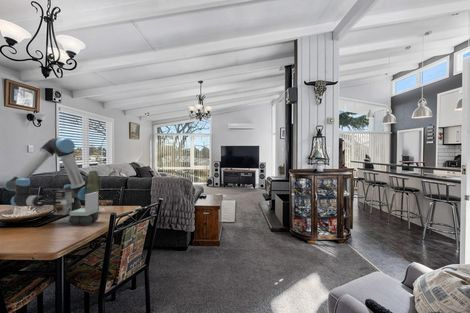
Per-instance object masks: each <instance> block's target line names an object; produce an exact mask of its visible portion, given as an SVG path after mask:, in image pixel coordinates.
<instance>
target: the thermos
mask: <svg viewBox="0 0 470 313" xmlns="http://www.w3.org/2000/svg"><path fill="white" fill-rule="evenodd" d="M84 181H85V189H86V190H87V194H89V193H94V192H98V194H99V193H100V190H101V189H102V177H101V176H99V173H98V171H96V170H90V171H89V172H88V175H87V176H86V177H85V178H84ZM99 210H100V205H99V204H98V212H99ZM98 212H96V213H97V214H99V213H98Z"/></svg>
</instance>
